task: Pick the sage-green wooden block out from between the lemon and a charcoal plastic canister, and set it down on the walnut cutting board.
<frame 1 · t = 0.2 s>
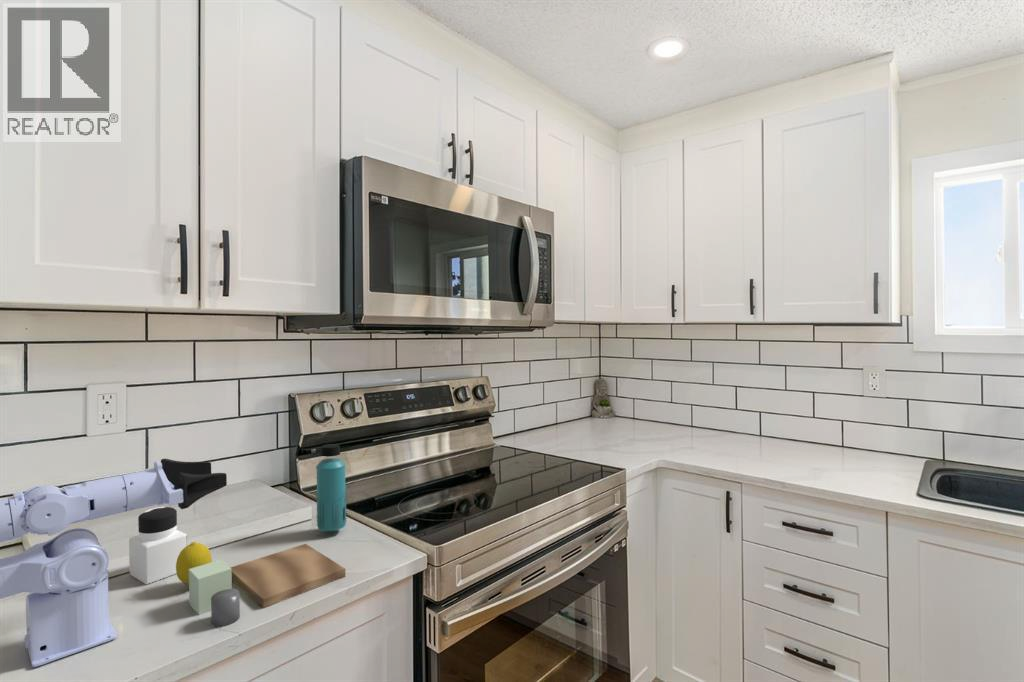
hand: (218, 473, 92), 21 cm above the worktop, tool horizontal, fingers open, 7 cm apart
sage block: (210, 603, 89), on the worktop
lemon: (194, 587, 95), on the worktop
walnut board: (286, 576, 99), on the worktop
beverage bottle: (331, 533, 119), on the worktop
charcoal canister: (225, 619, 84), on the worktop
medicine bottle: (158, 573, 100), on the worktop
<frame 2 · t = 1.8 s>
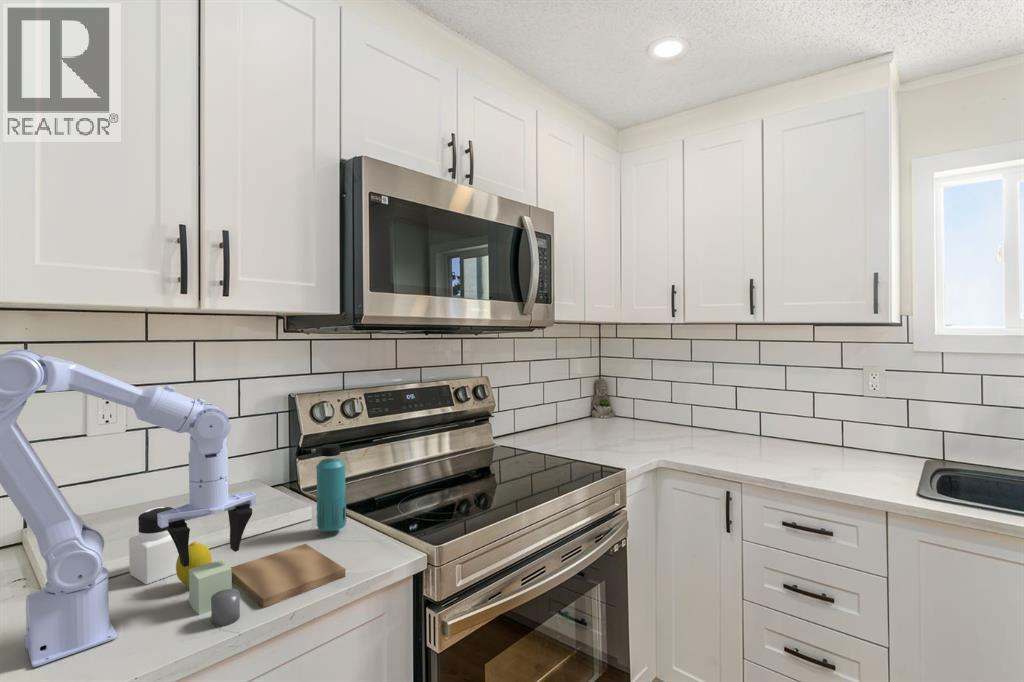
hand: (210, 556, 89), 8 cm above the worktop, tool pointing down, fingers open, 7 cm apart
nothing on the worktop moved.
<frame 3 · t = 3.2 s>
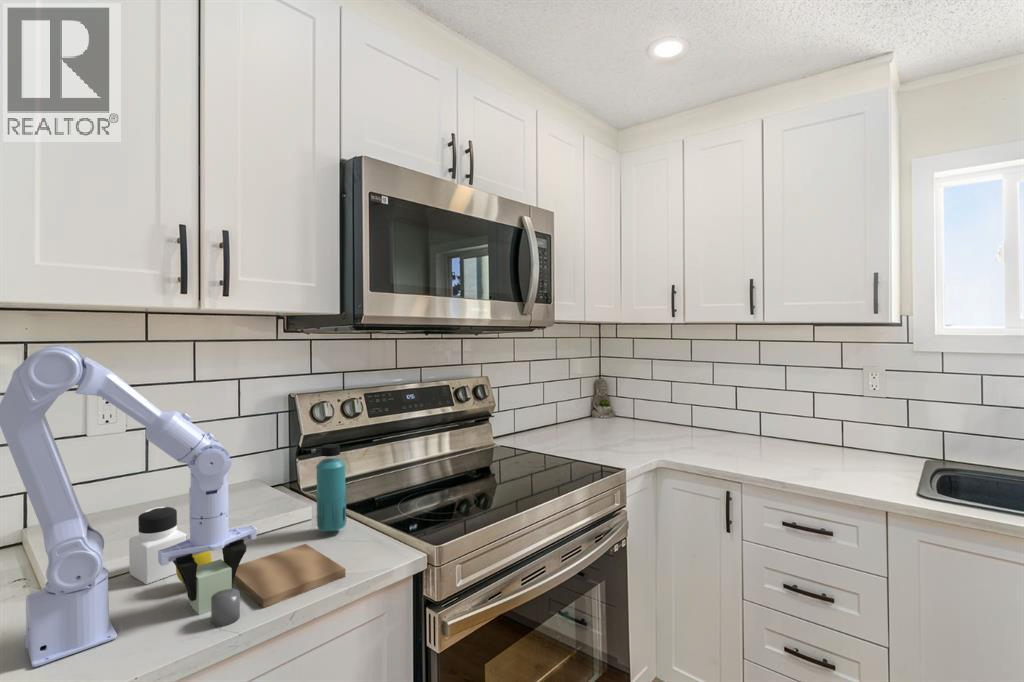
hand: (210, 592, 89), 2 cm above the worktop, tool pointing down, fingers closed on sage block, 5 cm apart
sage block: (210, 603, 89), on the worktop, touching gripper
everything else where it was.
when the fingers open (5 cm above the worktop, at t = 7.7 s): sage block drops 1 cm, resting on walnut board.
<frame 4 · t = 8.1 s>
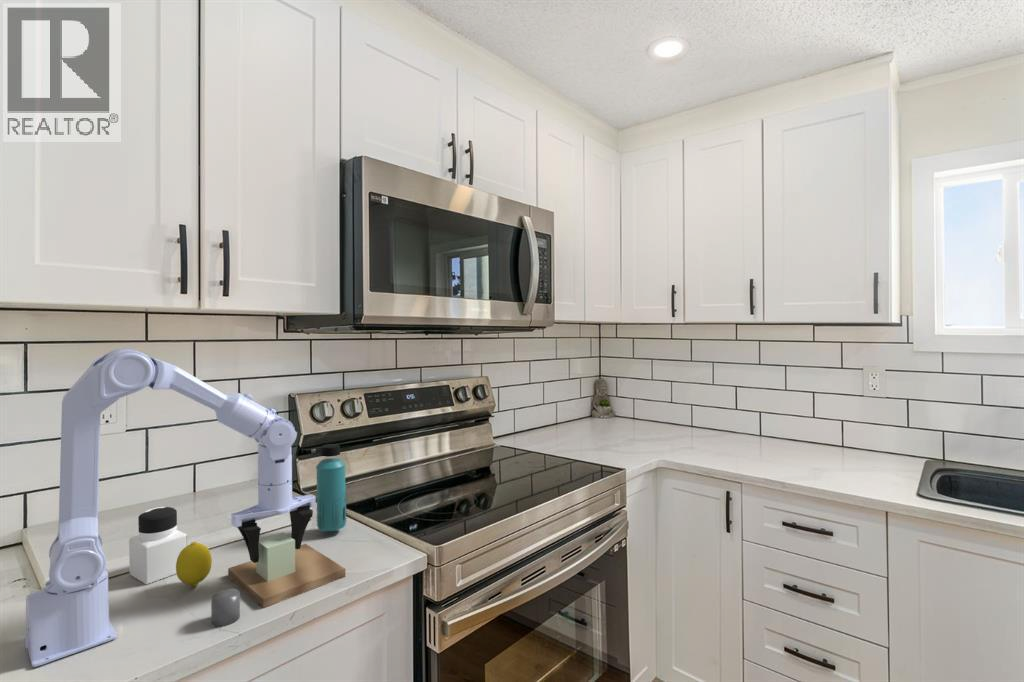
hand: (275, 553, 97), 5 cm above the worktop, tool pointing down, fingers open, 7 cm apart
sage block: (275, 572, 97), point 1 cm above the worktop, touching walnut board
everything else where it was.
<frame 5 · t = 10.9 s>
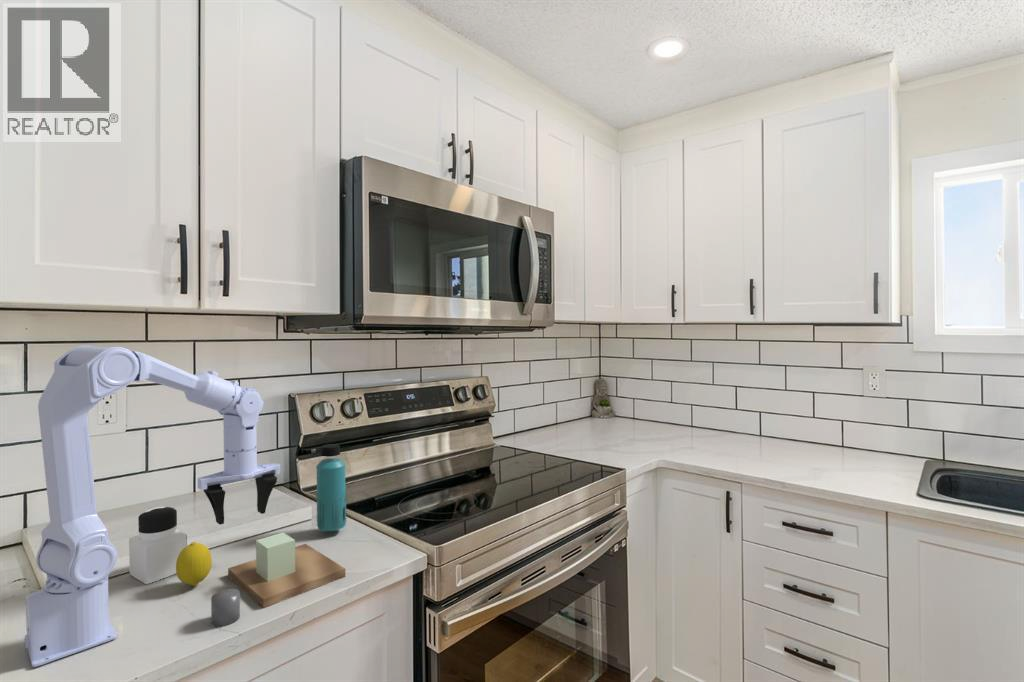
hand: (241, 517, 103), 9 cm above the worktop, tool pointing down, fingers open, 7 cm apart
nothing on the worktop moved.
at the end: sage block inside the target area on the walnut board (2.0 cm from its centre), point 1.5 cm above the walnut board's base; sage block tilted 0°; the gripper is holding nothing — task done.
